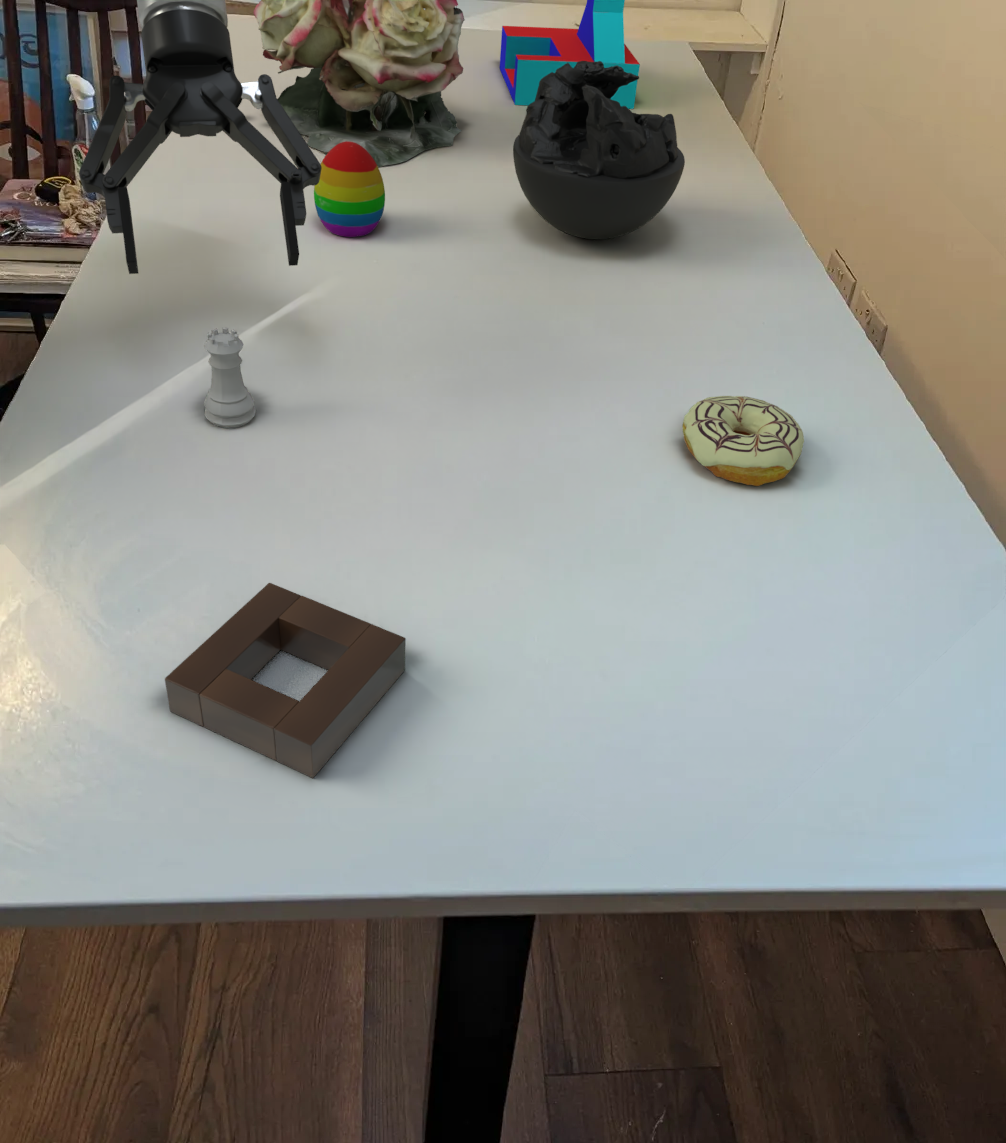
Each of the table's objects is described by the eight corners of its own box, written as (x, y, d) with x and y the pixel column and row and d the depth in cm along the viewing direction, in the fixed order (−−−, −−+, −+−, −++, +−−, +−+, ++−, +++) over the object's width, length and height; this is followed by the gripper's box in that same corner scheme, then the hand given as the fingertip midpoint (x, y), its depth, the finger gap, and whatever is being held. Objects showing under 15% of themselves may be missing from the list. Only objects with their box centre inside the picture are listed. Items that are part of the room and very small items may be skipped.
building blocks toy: (602, 62, 195) (617, -57, 183) (633, 108, 176) (651, -21, 164) (495, 58, 192) (502, -63, 181) (514, 104, 173) (524, -27, 162)
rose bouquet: (237, 124, 158) (217, -124, 139) (401, 93, 174) (404, -134, 155) (346, 182, 144) (341, -85, 125) (513, 142, 160) (531, -100, 141)
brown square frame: (169, 711, 72) (163, 678, 70) (271, 614, 80) (269, 581, 78) (313, 778, 69) (311, 745, 67) (405, 670, 76) (405, 637, 75)
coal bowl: (583, 189, 148) (601, 36, 136) (704, 240, 137) (734, 79, 125) (473, 224, 136) (481, 60, 124) (595, 283, 126) (617, 110, 114)
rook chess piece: (246, 433, 98) (238, 350, 92) (196, 425, 98) (186, 343, 93) (263, 407, 101) (257, 326, 96) (215, 400, 101) (207, 319, 96)
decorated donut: (688, 487, 96) (695, 450, 93) (672, 421, 104) (678, 385, 102) (808, 493, 96) (819, 456, 94) (783, 426, 105) (792, 391, 102)
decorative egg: (325, 245, 129) (322, 157, 122) (307, 217, 134) (304, 132, 128) (393, 239, 131) (394, 152, 125) (373, 212, 137) (373, 128, 131)
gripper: (324, 52, 105) (353, 271, 104) (40, 53, 99) (68, 287, 98) (331, 5, 98) (363, 240, 97) (25, 3, 92) (55, 254, 90)
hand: (214, 264), depth 97 cm, fingers open, 13 cm apart
